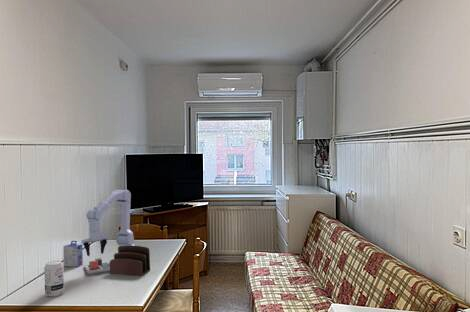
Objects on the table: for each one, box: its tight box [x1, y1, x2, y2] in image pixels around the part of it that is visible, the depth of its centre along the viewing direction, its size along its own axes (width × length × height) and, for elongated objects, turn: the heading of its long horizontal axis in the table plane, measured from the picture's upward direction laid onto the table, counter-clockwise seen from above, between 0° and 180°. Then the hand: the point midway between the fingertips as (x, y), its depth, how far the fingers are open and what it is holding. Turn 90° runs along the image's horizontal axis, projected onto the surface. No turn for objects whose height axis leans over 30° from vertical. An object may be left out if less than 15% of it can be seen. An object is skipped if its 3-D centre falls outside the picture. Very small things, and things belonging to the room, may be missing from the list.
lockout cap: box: [91, 260, 98, 270], centre depth 219 cm, size 4×4×5 cm
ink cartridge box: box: [62, 240, 84, 268], centre depth 234 cm, size 10×6×14 cm, turn 78°
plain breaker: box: [94, 257, 103, 265], centre depth 230 cm, size 3×4×3 cm
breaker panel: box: [83, 262, 110, 277], centre depth 224 cm, size 13×17×2 cm
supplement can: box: [43, 260, 65, 297], centre depth 186 cm, size 8×8×15 cm
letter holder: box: [109, 245, 151, 277], centre depth 219 cm, size 10×20×14 cm, turn 76°
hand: (95, 254), depth 221 cm, fingers open, 7 cm apart
